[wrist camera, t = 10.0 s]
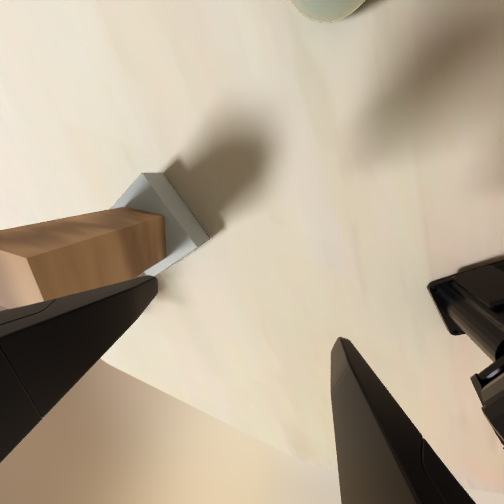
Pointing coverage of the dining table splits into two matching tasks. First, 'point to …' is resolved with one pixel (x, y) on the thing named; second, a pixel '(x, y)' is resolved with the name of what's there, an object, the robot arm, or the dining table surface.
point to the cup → (326, 9)
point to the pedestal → (165, 216)
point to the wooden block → (78, 254)
